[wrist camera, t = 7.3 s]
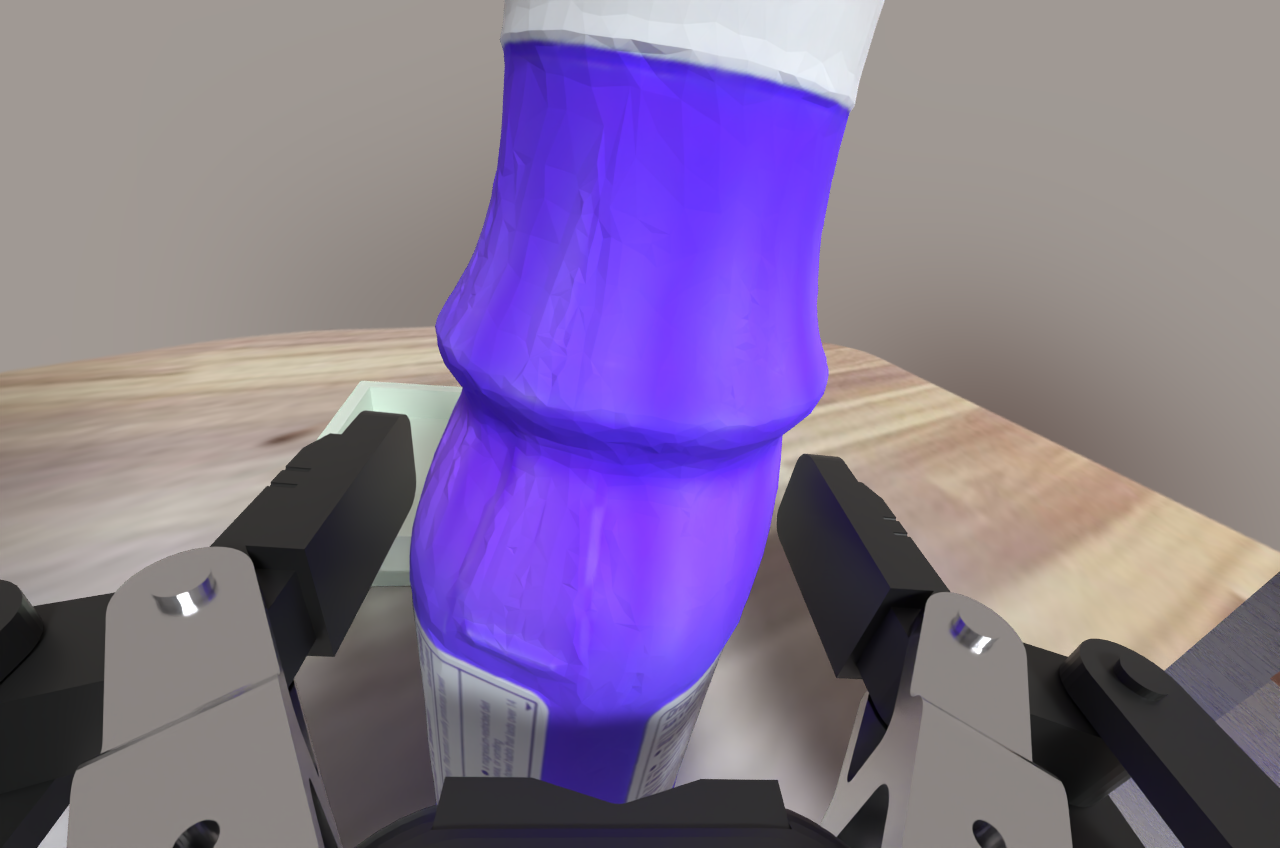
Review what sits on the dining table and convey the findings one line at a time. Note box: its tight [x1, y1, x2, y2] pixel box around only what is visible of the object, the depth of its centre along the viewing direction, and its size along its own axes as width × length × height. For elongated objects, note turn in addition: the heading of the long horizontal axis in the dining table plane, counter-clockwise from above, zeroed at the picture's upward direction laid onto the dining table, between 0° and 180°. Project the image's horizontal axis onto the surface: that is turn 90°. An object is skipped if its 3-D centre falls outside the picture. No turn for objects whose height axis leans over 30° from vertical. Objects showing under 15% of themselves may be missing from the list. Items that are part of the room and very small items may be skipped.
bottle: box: [410, 0, 885, 805], centre depth 10 cm, size 7×6×17 cm
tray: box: [316, 381, 462, 586], centre depth 22 cm, size 11×11×2 cm
